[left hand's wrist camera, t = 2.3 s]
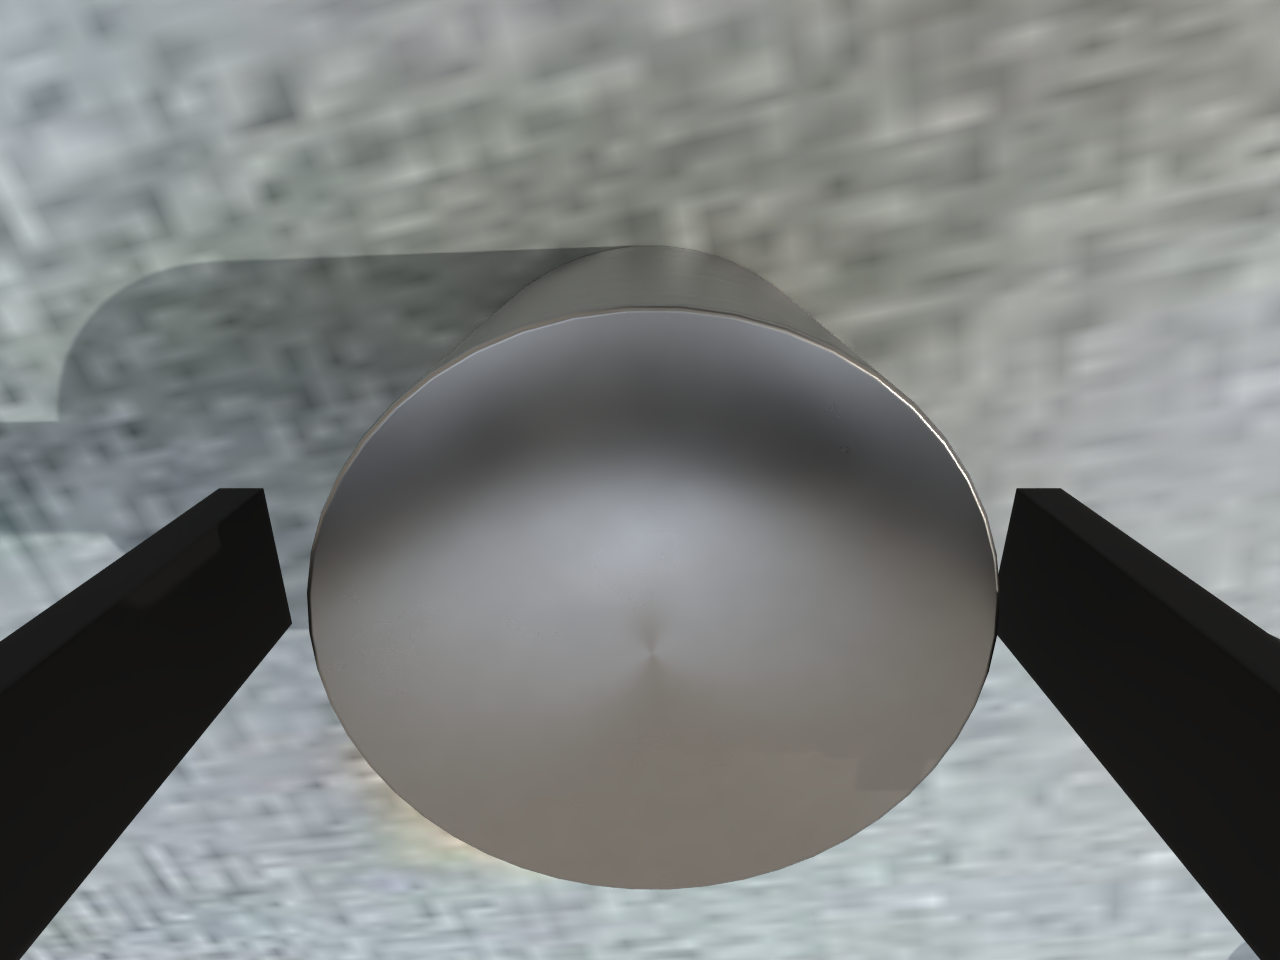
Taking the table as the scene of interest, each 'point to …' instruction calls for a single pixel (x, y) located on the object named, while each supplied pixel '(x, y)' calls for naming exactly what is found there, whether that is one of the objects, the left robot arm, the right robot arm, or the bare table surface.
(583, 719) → the canister
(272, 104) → the table surface
